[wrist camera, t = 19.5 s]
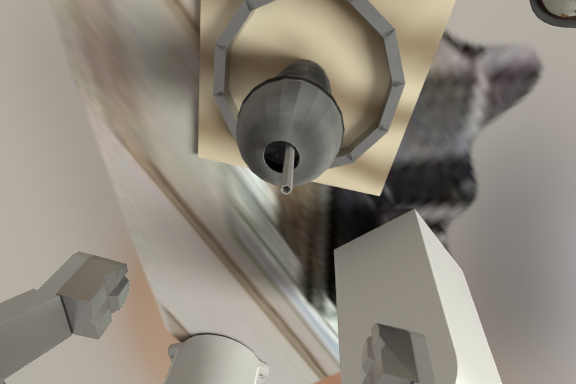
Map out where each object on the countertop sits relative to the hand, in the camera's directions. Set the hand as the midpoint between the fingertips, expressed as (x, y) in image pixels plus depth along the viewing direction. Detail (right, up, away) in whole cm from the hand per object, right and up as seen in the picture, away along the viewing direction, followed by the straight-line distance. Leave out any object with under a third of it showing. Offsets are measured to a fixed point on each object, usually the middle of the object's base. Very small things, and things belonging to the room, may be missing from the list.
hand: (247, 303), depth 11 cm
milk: (+16, -5, +33) cm, 37 cm away
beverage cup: (+3, +14, +21) cm, 26 cm away
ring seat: (+3, +14, +22) cm, 26 cm away
